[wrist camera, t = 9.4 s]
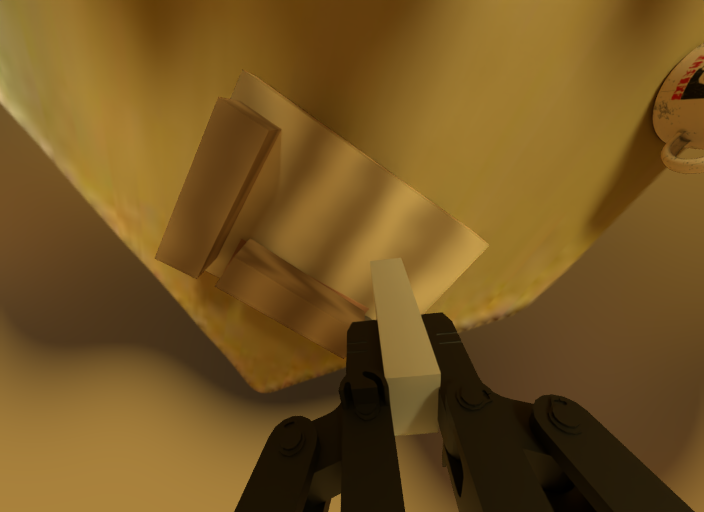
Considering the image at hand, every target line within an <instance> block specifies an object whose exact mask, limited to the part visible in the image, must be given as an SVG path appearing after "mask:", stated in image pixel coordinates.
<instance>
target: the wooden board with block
mask: <svg viewBox="0 0 704 512" xmlns="http://www.w3.org/2000/svg"><path fill="white" fill-rule="evenodd" d="M250 238H251V239H252V240H254V241H255V242H257V243H259V244H260V245H262V246H263V247H265V248H266V249H268V250H269V251H271V252H273V253H274V254H276V255H277V256H279V257H280V258H282V259H283V260H285V261H287V262H288V263H290V264H291V265H293V266H294V267H296V268H298V269H299V270H301V271H302V272H304V273H305V274H307V275H308V276H310V277H312V278H313V279H315V280H316V281H318V282H319V283H321V284H322V285H324V286H326V287H327V288H329V289H330V290H332V291H333V292H335V293H337V294H338V295H340V296H341V297H343V298H344V299H346V300H347V301H349V302H351V303H352V304H354V305H355V306H357V307H358V308H360V309H362V310H363V311H364V314H365V316H368V317H370V318H371V319H372V320H376V313H375V304H374V295H373V285H372V275H371V266H370V261H376V260H385V259H394V258H401V259H402V262H403V264H404V267H405V270H406V273H407V276H408V279H409V282H410V285H411V288H412V291H413V294H414V297H415V300H416V302H417V305H418V308H419V311H420V314H424V313H425V312H426V311H427V310H428V309H429V308H430V307H431V306H432V305H433V304H434V303H435V301H436V300H437V299H438V298H439V297H440V296H441V295H442V294H443V293H444V292H445V291H446V290H447V289H448V288H449V287H450V286H451V285H452V284H453V283H454V282H455V281H456V280H457V279H458V278H459V277H460V275H461V274H462V273H463V272H464V271H465V270H466V269H467V268H468V267H469V266H470V265H471V264H472V263H473V262H474V261H475V260H476V259H477V258H478V257H479V256H480V255H481V254H482V253H483V252H484V250H485V249H486V248H487V247H488V246H489V244H488V243H487V242H485V241H484V240H483V239H482V238H481V237H480V236H479V235H478V234H476V233H475V232H473V231H472V230H471V229H469V228H468V227H466V226H465V225H464V224H462V223H461V222H459V221H458V220H457V219H455V218H454V217H452V216H451V215H450V214H448V213H447V212H445V211H444V210H443V209H441V208H440V207H438V206H437V205H436V204H434V203H433V202H431V201H430V200H429V199H427V198H426V197H424V196H423V195H422V194H420V193H419V192H417V191H416V190H415V189H413V188H412V187H410V186H409V185H408V184H406V183H405V182H403V181H402V180H401V179H399V178H398V177H396V176H395V175H394V174H392V173H391V172H389V171H388V170H387V169H385V168H384V167H382V166H381V165H380V164H378V163H377V162H375V161H374V160H373V159H371V158H370V157H368V156H367V155H366V154H364V153H363V152H361V151H360V150H359V149H357V148H356V147H354V146H353V145H352V144H350V143H349V142H347V141H346V140H345V139H343V138H342V137H340V136H339V135H338V134H336V133H335V132H333V131H332V130H331V129H329V128H328V127H326V126H325V125H324V124H322V123H321V122H319V121H318V120H317V119H315V118H314V117H312V116H311V115H310V114H308V113H307V112H305V111H304V110H303V109H301V108H300V107H298V106H297V105H296V104H294V103H293V102H291V101H290V100H289V99H287V98H286V97H284V96H283V95H282V94H280V93H279V92H277V91H276V90H275V89H273V88H272V87H270V86H269V85H268V84H266V83H265V82H263V81H262V80H261V79H259V78H258V77H256V76H255V75H253V74H251V73H249V72H247V71H245V70H243V69H242V72H241V74H240V76H239V79H238V81H237V84H236V86H235V89H234V91H233V93H232V96H231V98H230V99H226V98H221V97H218V99H217V102H216V104H215V107H214V109H213V112H212V115H211V117H210V120H209V122H208V125H207V127H206V130H205V132H204V135H203V137H202V140H201V142H200V145H199V147H198V150H197V152H196V155H195V158H194V160H193V163H192V165H191V168H190V170H189V173H188V175H187V178H186V180H185V183H184V185H183V188H182V190H181V193H180V195H179V198H178V201H177V203H176V206H175V208H174V211H173V213H172V216H171V218H170V221H169V223H168V226H167V228H166V231H165V233H164V236H163V238H162V241H161V243H160V246H159V249H158V251H157V254H156V256H155V259H157V260H159V261H161V262H163V263H165V264H167V265H169V266H171V267H173V268H175V269H177V270H179V271H181V272H184V273H186V274H188V275H190V276H192V277H194V278H196V279H197V278H198V277H199V276H200V275H201V274H202V273H203V272H204V271H207V272H209V273H211V274H213V275H215V276H217V277H219V278H221V276H222V275H223V273H224V272H225V270H226V269H227V267H228V266H229V264H230V263H231V261H232V260H233V258H234V257H235V255H236V254H237V253H238V252H239V251H240V249H241V248H242V247H243V246H244V245H245V244H246V242H247V241H248V240H249V239H250Z"/></svg>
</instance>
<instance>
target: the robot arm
mask: <svg viewBox="0 0 704 512" xmlns="http://www.w3.org/2000/svg"><path fill="white" fill-rule="evenodd" d="M370 266H371V275H372V285H373V295H374V304H375V313H376V320H368V321H357V322H352V323H351V325H350V327H349V329H348V331H347V359H346V376H345V377H344V378H343V380H342V381H341V383H340V387H339V394H340V399H341V403H340V405H339V406H338V407H337V408H336V409H335V410H334V411H332V412H331V413H329V414H327V415H325V416H323V417H320V418H318V419H316V420H313V421H311V420H310V419H308V418H305V417H303V416H292V417H290V418H288V419H285V420H283V421H282V422H281V423H280V424H278V425H277V426H276V427H275V428H274V430H273V432H272V433H271V435H270V436H269V438H268V440H267V442H266V444H265V447H264V449H263V451H262V453H261V455H260V457H259V459H258V462H257V464H256V466H255V468H254V470H253V472H252V475H251V477H250V479H249V481H248V483H247V485H246V487H245V490H244V492H243V494H242V496H241V498H240V501H239V502H238V505H237V507H236V509H235V511H234V512H328V510H329V505H330V502H331V498H333V497H335V496H337V495H338V494H340V493H341V512H405V507H404V501H403V494H402V486H401V478H400V471H399V464H398V457H397V449H396V442H395V436H397V435H411V434H423V433H437V432H438V428H439V427H440V431H441V434H442V437H443V450H442V465H443V467H446V465H447V468H448V472H449V475H450V480H451V483H452V487H453V491H454V495H455V498H456V502H457V506H458V509H459V512H694V511H693V510H692V509H691V508H690V507H689V506H688V505H687V504H686V503H685V502H684V501H683V500H681V499H680V498H679V497H678V496H677V495H676V494H675V493H674V492H673V491H672V490H671V489H670V488H669V487H668V486H667V485H665V484H664V483H663V482H662V481H661V480H660V479H659V478H658V477H657V476H656V475H655V474H654V473H653V472H652V471H651V470H650V469H648V468H647V467H646V466H645V465H644V464H643V463H642V462H641V461H640V460H639V459H638V458H637V457H636V456H635V455H633V453H631V452H630V451H629V450H628V449H627V448H626V447H625V446H624V445H623V444H622V443H621V442H620V441H619V440H618V439H617V438H615V437H614V436H613V435H612V434H611V433H610V432H609V431H608V430H607V429H606V428H605V427H604V426H603V425H602V424H601V423H600V422H598V421H597V420H596V419H595V418H594V417H593V416H592V415H591V414H590V413H589V412H588V411H587V410H585V409H584V408H583V407H581V406H580V405H579V404H577V403H576V402H574V401H572V400H570V399H567V398H565V397H562V396H556V395H544V396H541V397H539V398H538V399H537V400H535V403H534V404H531V403H526V402H522V401H517V400H512V399H508V398H505V397H502V396H500V395H498V394H496V393H494V392H493V391H491V389H490V388H488V387H487V386H486V385H484V384H483V383H482V381H481V380H480V378H479V377H478V375H477V373H476V371H475V369H474V367H473V364H472V363H471V360H470V358H469V356H468V354H467V352H466V350H465V348H464V346H463V343H461V339H460V337H459V335H458V334H457V331H456V329H455V327H454V325H453V323H452V321H451V320H450V319H449V318H448V317H447V316H446V315H444V314H443V313H431V314H420V311H419V308H418V305H417V302H416V300H415V297H414V294H413V291H412V288H411V285H410V282H409V279H408V276H407V273H406V270H405V267H404V264H403V262H402V259H401V258H394V259H385V260H376V261H370Z"/></svg>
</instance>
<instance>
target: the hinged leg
mask: <svg viewBox="0 0 704 512" xmlns="http://www.w3.org/2000/svg"><path fill="white" fill-rule="evenodd" d="M215 287H217V288H219V289H220V290H222V291H224V292H226V293H227V294H229V295H231V296H233V297H235V298H236V299H238V300H240V301H242V302H243V303H245V304H247V305H249V306H251V307H252V308H254V309H256V310H258V311H259V312H261V313H263V314H265V315H267V316H268V317H270V318H272V319H274V320H275V321H277V322H279V323H281V324H282V325H284V326H286V327H288V328H290V329H291V330H293V331H295V332H297V333H298V334H300V335H302V336H304V337H306V338H307V339H309V340H311V341H313V342H314V343H316V344H318V345H320V346H322V347H323V348H325V349H327V350H329V351H330V352H332V353H334V354H336V355H337V356H339V357H341V358H343V359H344V358H345V357H346V356H347V331H348V329H349V327H350V325H351V323H352V322H357V321H368V320H372V319H371V318H370V317H368V316H365V314H364V311H363V310H362V309H360V308H358V307H357V306H355V305H354V304H352V303H351V302H349V301H347V300H346V299H344V298H343V297H341V296H340V295H338V294H337V293H335V292H333V291H332V290H330V289H329V288H327V287H326V286H324V285H322V284H321V283H319V282H318V281H316V280H315V279H313V278H312V277H310V276H308V275H307V274H305V273H304V272H302V271H301V270H299V269H298V268H296V267H294V266H293V265H291V264H290V263H288V262H287V261H285V260H283V259H282V258H280V257H279V256H277V255H276V254H274V253H273V252H271V251H269V250H268V249H266V248H265V247H263V246H262V245H260V244H259V243H257V242H255V241H254V240H252V239H251V238H250V239H249V240H248V241H247V242H246V244H245V245H244V246H243V247H242V248H241V249H240V251H239V252H238V253H237V254H236V255H235V257H234V258H233V260H232V261H231V263H230V264H229V266H228V267H227V269H226V270H225V272H224V273H223V275H222V276H221V278H220V279H219V281H218V282H217V284H216V285H215Z"/></svg>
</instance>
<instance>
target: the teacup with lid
mask: <svg viewBox="0 0 704 512" xmlns="http://www.w3.org/2000/svg"><path fill="white" fill-rule="evenodd" d="M653 125H654V129H655V132H656V134H657V135H658V137H659V138H660V139H661V140H662V141H664V142H665V143H666V144H665V146H664V147H663V149H662V151H661V159H662V161H663V163H664V165H665V166H666V167H667V168H669V169H670V170H672V171H675V172H678V173H685V174H695V173H702V172H704V157H701V158H696V159H681V158H677V157H676V155H677V153H678V152H679V151H680V150H681V149H682V148H694V149H704V43H703V44H702V45H700V46H698V47H697V48H696V49H694V50H693V51H692V52H690V53H689V54H688V55H687V56H686V57H685V58H683V59H682V60H681V61H680V62H679V63H678V64H677V66H676V67H675V68H674V69H673V70H672V72H671V73H670V74H669V75H668V77H667V78H666V80H665V81H664V83H663V85H662V87H661V89H660V91H659V93H658V95H657V98H656V101H655V104H654V109H653Z"/></svg>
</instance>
